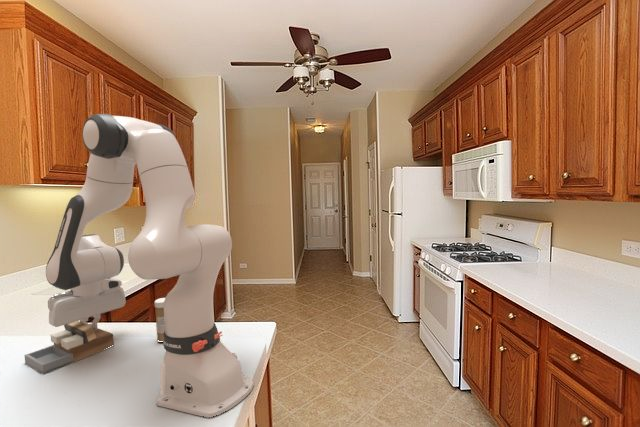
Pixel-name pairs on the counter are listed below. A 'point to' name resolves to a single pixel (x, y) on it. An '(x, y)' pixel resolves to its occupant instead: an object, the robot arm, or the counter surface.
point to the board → (91, 345)
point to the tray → (48, 359)
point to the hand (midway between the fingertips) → (91, 329)
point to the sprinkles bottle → (160, 318)
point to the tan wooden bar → (81, 330)
